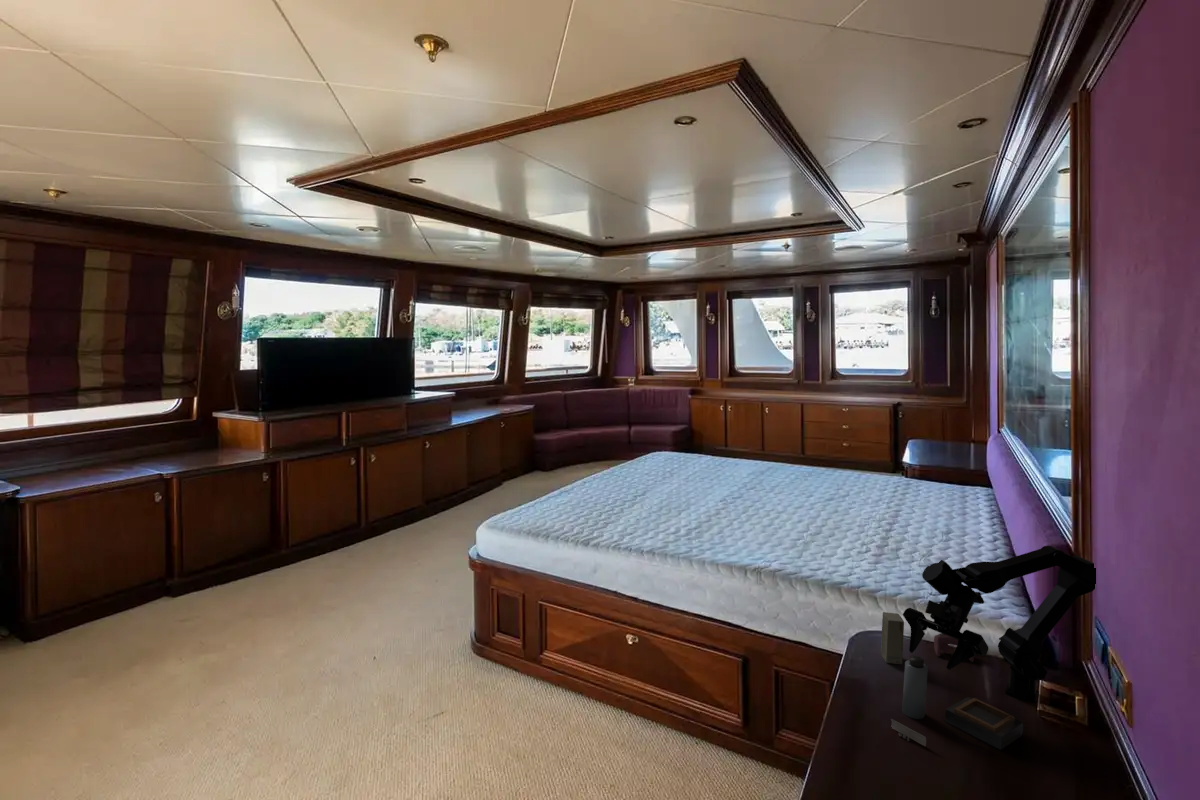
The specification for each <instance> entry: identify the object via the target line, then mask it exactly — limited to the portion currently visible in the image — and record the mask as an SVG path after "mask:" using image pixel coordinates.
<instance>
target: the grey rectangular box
mask: <svg viewBox="0 0 1200 800" xmlns="http://www.w3.org/2000/svg"><path fill="white" fill-rule="evenodd" d="M944 722H946V723H948V724H950V725H952V726H953V727H955V728H957V729H959V730H961V731H962V732H965V733H967V734H969V735H971V736H973V737H974V738H976V739H978V740H980V741H982V742H984V743H986V744H988V745H989V746H992V747H994V748H996V749H998V750H1000V751H1002V750H1003V749H1005V748H1006V747H1007V746H1009V745H1010V744H1012V743H1013V742H1014V741H1017V740H1018V739H1019V738H1021V737H1022V736H1023V731H1024V722H1023V721H1021V720H1018V719H1016V718H1015V716H1014V715H1012V714H1010V713H1007V712H1006V711H1003V710H1001V709H999V708H997V707H995V706H993V705H990V704H988V703H987V702H984V701H982V700H979V698H976V697H973V698H972V697H969V696H967V697H966V698H964V699H962V700H960V701H958V702H956V703H954V704H952V705H951V706H949V707H947V708H945V717H944Z"/></svg>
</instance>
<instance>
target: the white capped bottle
mask: <svg viewBox="0 0 1200 800" xmlns="http://www.w3.org/2000/svg"><path fill="white" fill-rule="evenodd" d="M928 670H929V667H928V665H927V664H926V663H925V660H924V658H922V657H920V656H919V655H911V656H910V655H909V659H908V660H906V661H905V662H904V674H903V675H904V677H903V690H902V691H903V692H902V705H901V707H902V708H901V711H902V714H904V715H905V716H907V717H908V718H911V719H914V720H923V719H924V718H925V714H926V713H925V712H926V703H927V702H926V699H927V686H928V674H929V673H928Z"/></svg>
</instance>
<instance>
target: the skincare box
mask: <svg viewBox="0 0 1200 800" xmlns="http://www.w3.org/2000/svg"><path fill="white" fill-rule="evenodd" d="M881 620H882V621H881V622H882V624H881V642H880V646H881V647H880V654H881V656H882V658H883V660H884V661H885V663H886V664H895V665H903V651H904V635H905V634H904V633H905V632H904V631H905V621H904V618H903V617H902V615H900V614H899V613H894V612H885V611H883V612H882V619H881Z"/></svg>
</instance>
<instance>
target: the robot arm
mask: <svg viewBox="0 0 1200 800" xmlns="http://www.w3.org/2000/svg"><path fill="white" fill-rule="evenodd" d="M1094 563H1095V562H1092V561H1090V560H1088V559H1086V558H1083V557H1081V556H1079V555H1069V554H1067V553H1065V552H1064V550H1061V549H1059V548H1056V547H1055V546H1051V545H1044V546H1042V547H1041V548H1039V549H1035V550H1033V551H1029V552H1025V553H1023V554H1020V555H1016V556H1012V557H1009V558H1006V559H1003V560H999V561H979V562H972V563H971V562H970V563H969V564H967V565H966V566H963V567H959V568H954V569H953V568H952V567H951V566H950V565H949V564H948V563H947V562H946V561H945V560H943V559H941V560H939V561H938V562H934V563H931V564H930V565H927V566H925V568H924V569H923V571H922V579H923V580H924V581H925V582H926V583H928V584H929V585H930V587H932V588H933V589H934V590H935V591H936V592H938V593H939V595H942V596H944V595H945V596H946V597H945V599H944V600H941V601H939V602H936V601H933V600H930V599H929V600H928V602H927V605H926V609H925V611H924V612H922V611H920V610H917V609H914V608H912V607H908V608H906V609H905V610H904V612H903V613H902V616H903V619H904V620H905V621H906V622H907V623H908V625H909V627H910V639H909V648H908V649H909V653H910V654H913V653H914V652H915V651H916V649H917V648H918V646H919V644H920V643H921V641H922V639H923V638H924V636H925V635H926V633H925V631H926V630H927V629H930V630H932V631H935V632H937V633H939V634H941V633H942V634H944V635H947V636H949V637H952V638H954V639H957V640H958V645H956V647H957V648H956V647H955V648H956V650H955V649H954V650H955V651H954V652H953V653H952V655H951V657H950V659H949V660H948V662H947V664H946V669H947V670H949V671H951V670H952V669H953V668H955V667H957V666H958V665H959V664H961V663H963V662H965V661H967V660H969V658H971V657H973V656H974V658H978V657H980V656H981V657H987V654H988V652H989V646H988V644H987V642H986V640H985V639H984V637H983V635H982V634H980V633H976V632H974V631H971V630H969V629H965V630H963V632H961V629H962V627H963V625H964V624H968V622H969V618H968V616H969V613H970V612H971V610H972V608H973V605H974V604H980V605H981V604H985V601H984V598H983V597H982V593H983V594H992V593H993V592H996V591H998V590H1000V589H1002V588H1003V587H1005V586H1006V584H1007V583H1008V582H1009V581H1012V580H1013V579H1014V580H1015V579H1017V578H1021V577H1023V576H1028V575H1031V574H1034V573H1037V572H1040V571H1044V570H1047V569H1050V568H1053V567H1059V569H1058V571H1057V583H1056V584H1055V585H1054V587H1053V588H1052V589H1051V591H1050V592H1049V593H1048V595H1046V597H1045V598H1044V599H1043V601H1042V602H1041V603H1040V604H1039V605H1038V607H1037V609H1036V610H1035V611H1033V613H1032V615H1031V616H1030V617H1029V618H1028V619H1027V621H1026V622H1025V624H1024V625H1023V626H1021V627H1019V628H1018V629H1015V630H1014V629H1012V627H1008V628H1007V629H1006V630H1005V632H1004V634H1003V635H1002V636H1001V637H999V638H998V640H999V642H998V645H997V648H998V652H999V654H1000V656H1002V657H1003V662H1005V663H1006V664H1008V665H1009V677H1008V678H1009V679H1008V683H1007V685H1006V687H1005V690H1004V694H1007V695H1010V696H1012V697H1016V698H1019V699H1022V700H1025V701H1027V702H1031V703H1033V704H1034V703H1035V704H1036V703H1037V700H1038V697H1039V695H1040V691H1039V690H1038V689H1037V683H1038V681H1039V680H1044V679H1045V678H1046V676H1047V673H1048V670H1046V668H1045V667H1043V665H1042V664H1041V663H1040V662H1039V660H1040V658H1041V656H1042V652H1043V651H1042V649H1043V642H1044V641H1045V639H1046V638H1047V637H1048V635H1050V633H1051V632H1052V631H1053V629H1054V628H1055V627H1056V625H1057V624H1058V623H1059V622H1060V621H1061V619H1062V618H1063V617H1064V615H1066V613H1067V612H1068V610H1070V608H1071V607H1072V606H1073V604H1074V603H1075V602H1076V601H1077V600H1078V598H1079V597H1081V596H1084V595H1087V594H1089V593H1092V592H1094V590H1096V589H1095V584H1096V568H1094ZM974 589H975V590H977V591H975V590H974ZM924 613H926V614H928V615H930V618H931V619H932V620H933V621H932V620H931V619H927V617H926V615H925V614H924Z"/></svg>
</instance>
